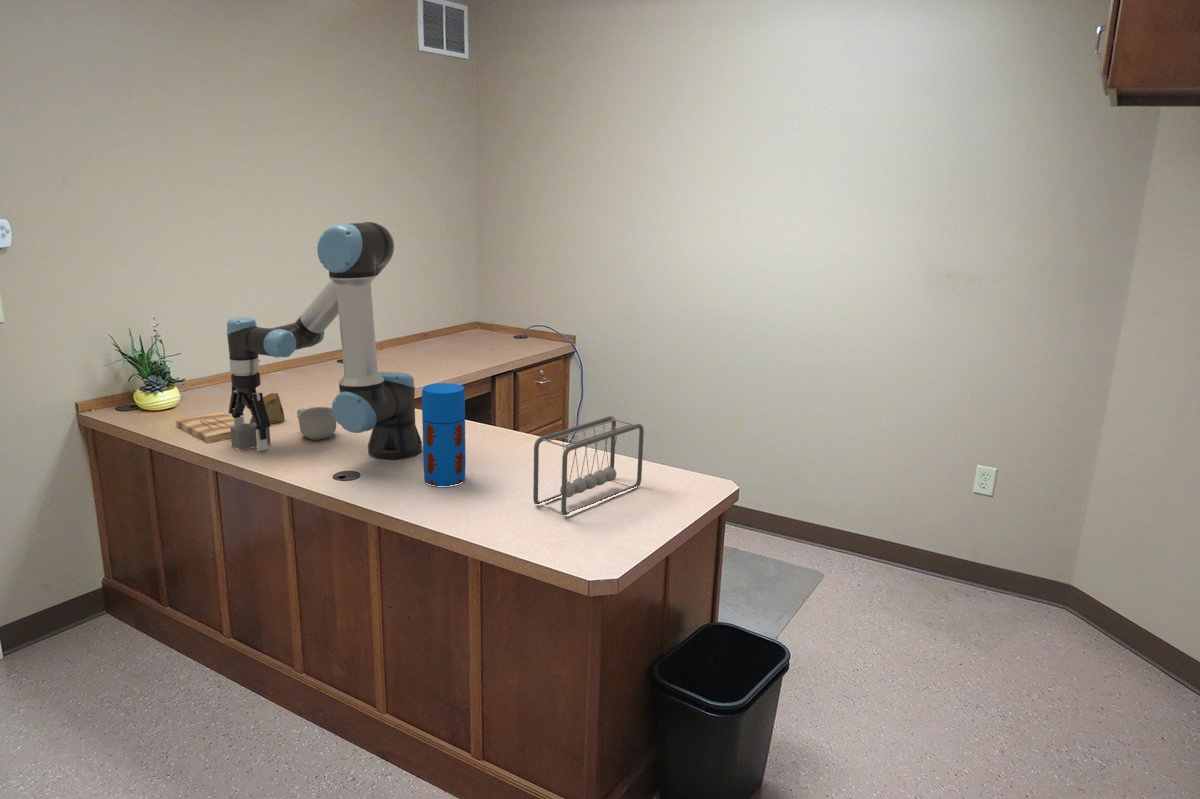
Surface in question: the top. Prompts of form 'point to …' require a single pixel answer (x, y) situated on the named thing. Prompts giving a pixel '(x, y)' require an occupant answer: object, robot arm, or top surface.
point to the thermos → (443, 433)
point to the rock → (273, 408)
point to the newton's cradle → (599, 476)
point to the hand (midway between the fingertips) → (251, 444)
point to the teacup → (316, 422)
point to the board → (208, 426)
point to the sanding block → (246, 436)
